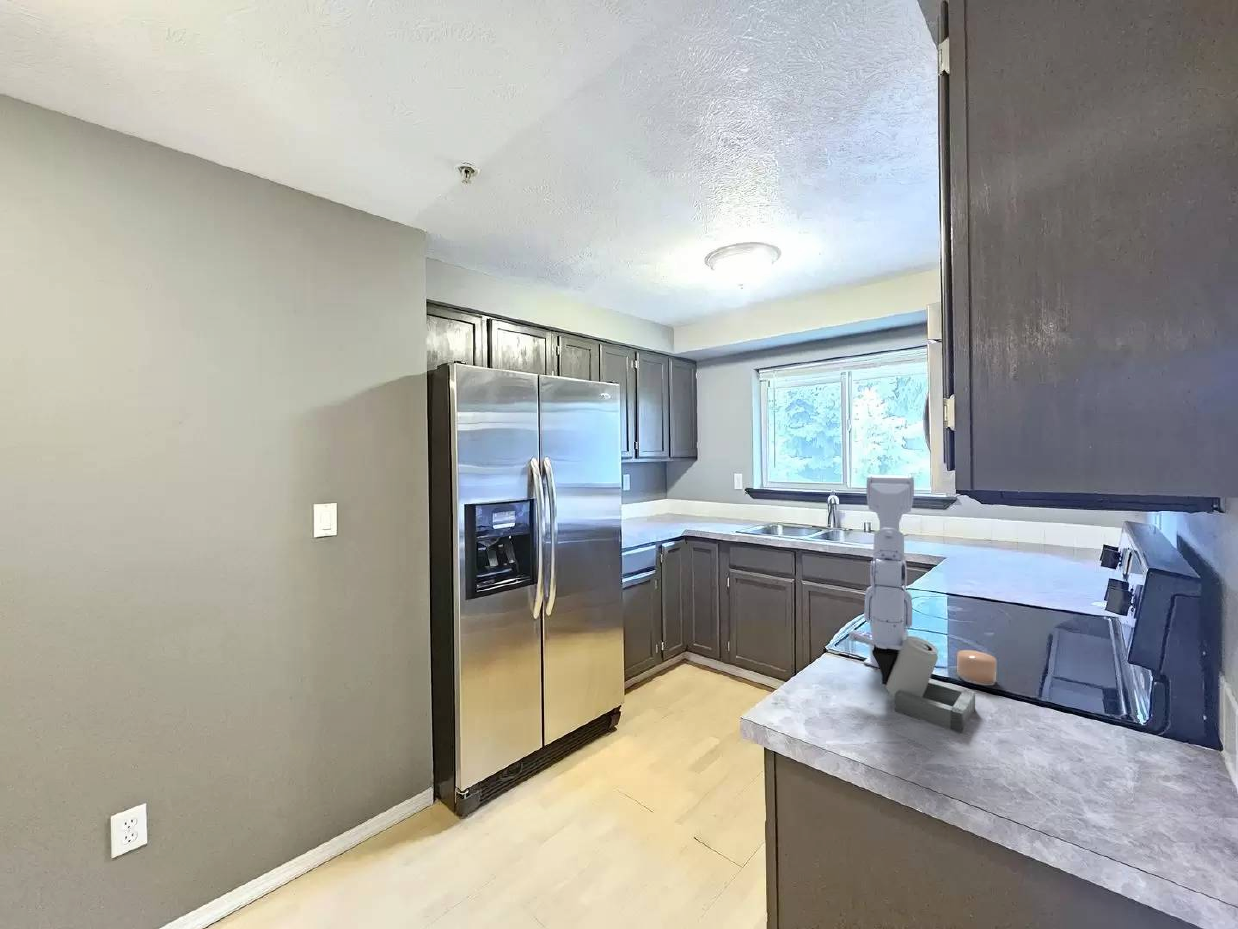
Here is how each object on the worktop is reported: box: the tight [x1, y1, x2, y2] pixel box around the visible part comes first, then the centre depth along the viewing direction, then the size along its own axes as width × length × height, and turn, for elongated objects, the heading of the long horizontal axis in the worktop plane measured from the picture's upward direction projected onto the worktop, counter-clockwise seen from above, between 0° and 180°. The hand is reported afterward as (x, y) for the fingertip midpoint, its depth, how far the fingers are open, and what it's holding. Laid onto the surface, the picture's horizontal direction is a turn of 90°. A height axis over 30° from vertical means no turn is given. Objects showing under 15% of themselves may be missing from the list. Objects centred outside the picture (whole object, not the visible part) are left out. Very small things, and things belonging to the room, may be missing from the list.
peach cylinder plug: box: [956, 649, 998, 684], centre depth 114 cm, size 7×7×5 cm
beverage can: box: [885, 635, 939, 699], centre depth 103 cm, size 6×6×12 cm
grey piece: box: [894, 678, 976, 734], centre depth 101 cm, size 11×11×4 cm
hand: (886, 683), depth 107 cm, fingers closed
